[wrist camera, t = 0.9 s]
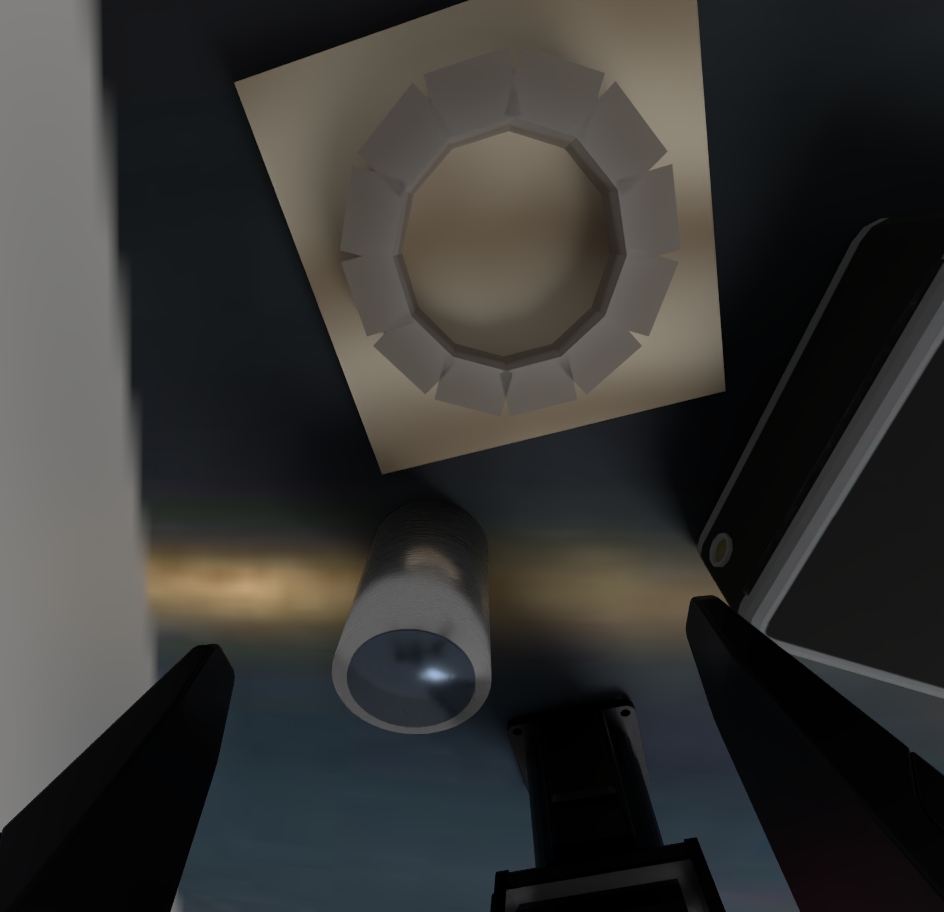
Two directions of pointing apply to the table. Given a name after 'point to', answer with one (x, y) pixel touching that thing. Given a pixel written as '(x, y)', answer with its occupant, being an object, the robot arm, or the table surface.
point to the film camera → (851, 473)
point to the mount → (503, 217)
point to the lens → (419, 623)
